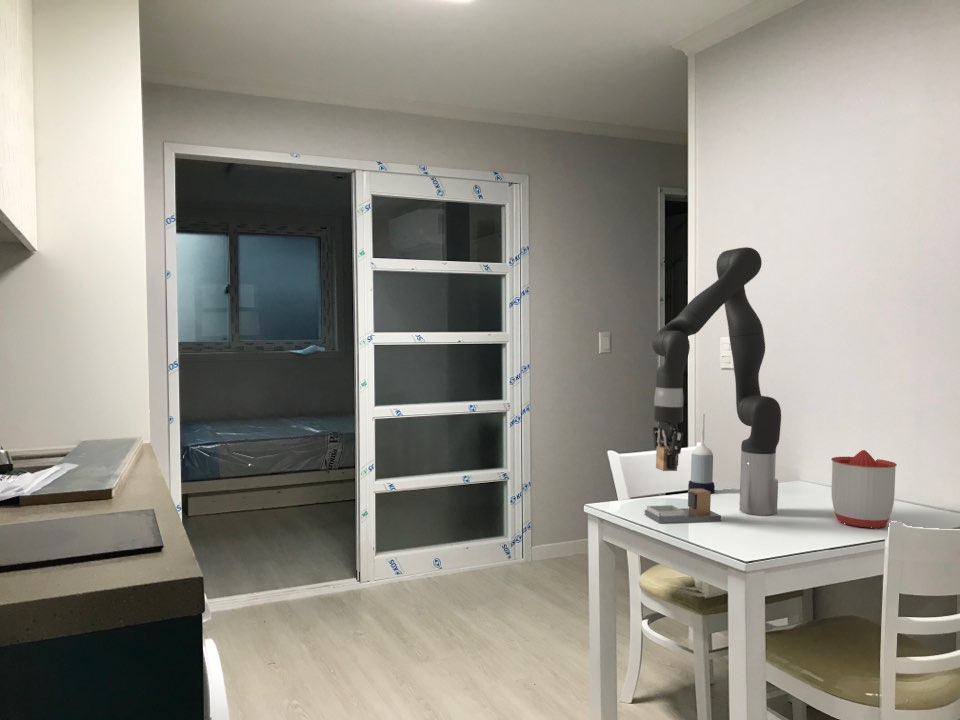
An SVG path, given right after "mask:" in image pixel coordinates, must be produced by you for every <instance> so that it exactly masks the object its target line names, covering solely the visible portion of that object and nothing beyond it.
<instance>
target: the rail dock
mask: <svg viewBox="0 0 960 720" xmlns="http://www.w3.org/2000/svg"><path fill="white" fill-rule="evenodd" d="M711 496H712V494H711V492H710V491H707V490H705V489H689V491H688V494H687V506H688V508H685V507H684V508H679V507H677V506H674V505H671V504H670V505H669V504H668V505H666V504H665V505H646V509H644V516H645V515H646V516H645V517H646V518H649V519H651V520H652V521H654V522H655V523H658V524H677V523H678V524H679V523H702V522H703V523H705V522H706V523H707V522H722V515H720V514H719V513H716V512H714V511H712V510H711V500H712V499H711Z"/></svg>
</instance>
